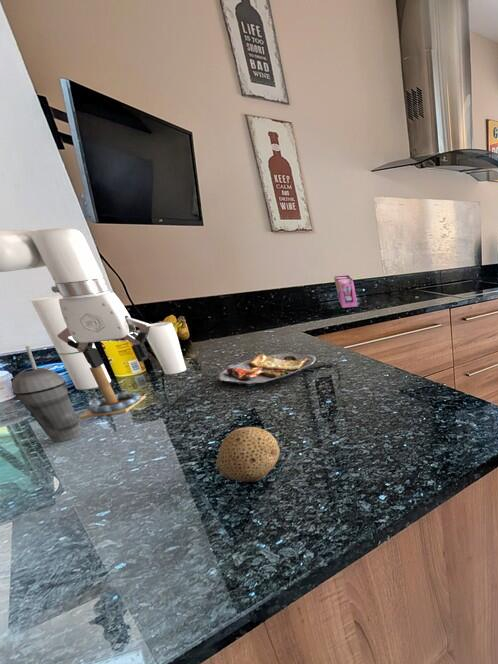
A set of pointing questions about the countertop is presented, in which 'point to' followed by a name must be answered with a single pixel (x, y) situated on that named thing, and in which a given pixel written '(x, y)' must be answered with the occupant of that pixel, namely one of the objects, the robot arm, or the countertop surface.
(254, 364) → the food plate
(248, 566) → the countertop surface
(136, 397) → the ring
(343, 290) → the gum box
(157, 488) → the countertop surface
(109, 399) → the ring stand
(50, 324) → the cylindrical container
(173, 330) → the drinking glass
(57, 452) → the countertop surface
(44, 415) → the beverage cup
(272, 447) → the natural sponge
